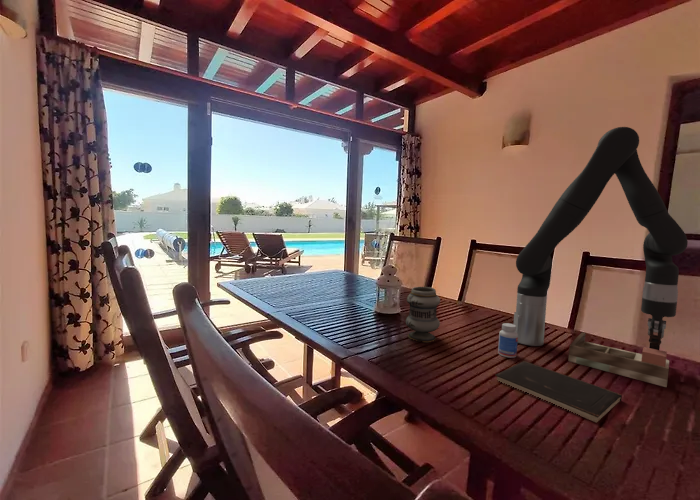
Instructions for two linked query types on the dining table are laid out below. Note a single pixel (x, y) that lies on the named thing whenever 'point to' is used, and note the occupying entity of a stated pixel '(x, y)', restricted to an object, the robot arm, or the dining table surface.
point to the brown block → (654, 356)
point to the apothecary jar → (422, 313)
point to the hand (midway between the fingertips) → (653, 355)
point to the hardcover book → (561, 390)
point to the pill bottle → (508, 341)
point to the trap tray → (617, 361)
